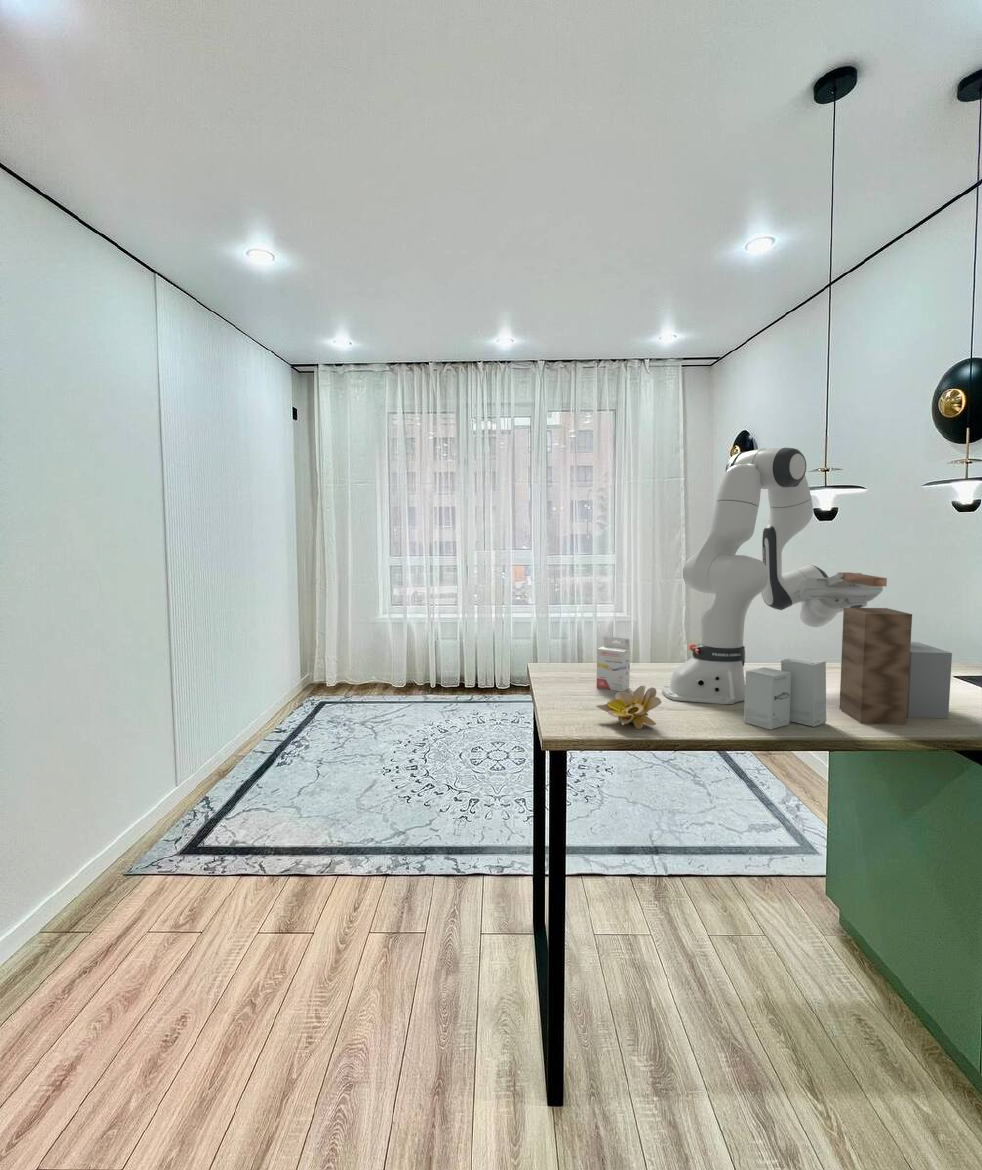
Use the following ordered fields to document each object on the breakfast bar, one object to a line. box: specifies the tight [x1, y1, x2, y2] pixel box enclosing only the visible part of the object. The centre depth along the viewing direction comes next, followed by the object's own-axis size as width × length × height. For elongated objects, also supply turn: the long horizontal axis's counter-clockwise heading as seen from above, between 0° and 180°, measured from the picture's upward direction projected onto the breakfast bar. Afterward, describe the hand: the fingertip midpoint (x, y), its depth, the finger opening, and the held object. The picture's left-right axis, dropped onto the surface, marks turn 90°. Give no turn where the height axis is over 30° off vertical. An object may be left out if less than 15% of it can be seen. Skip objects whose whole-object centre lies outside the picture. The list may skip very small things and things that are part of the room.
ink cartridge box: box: [596, 635, 631, 692], centre depth 181 cm, size 9×5×15 cm, turn 58°
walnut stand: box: [838, 607, 913, 726], centre depth 151 cm, size 10×12×26 cm
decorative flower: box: [595, 685, 662, 730], centre depth 148 cm, size 15×11×10 cm
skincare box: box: [780, 656, 827, 728], centre depth 148 cm, size 8×6×15 cm
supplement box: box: [743, 667, 791, 731], centre depth 146 cm, size 7×7×13 cm
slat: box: [837, 571, 888, 587], centre depth 158 cm, size 3×20×2 cm, turn 172°
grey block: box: [907, 641, 953, 719], centre depth 158 cm, size 9×16×16 cm, turn 172°
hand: (850, 575), depth 164 cm, fingers closed on slat, 3 cm apart
